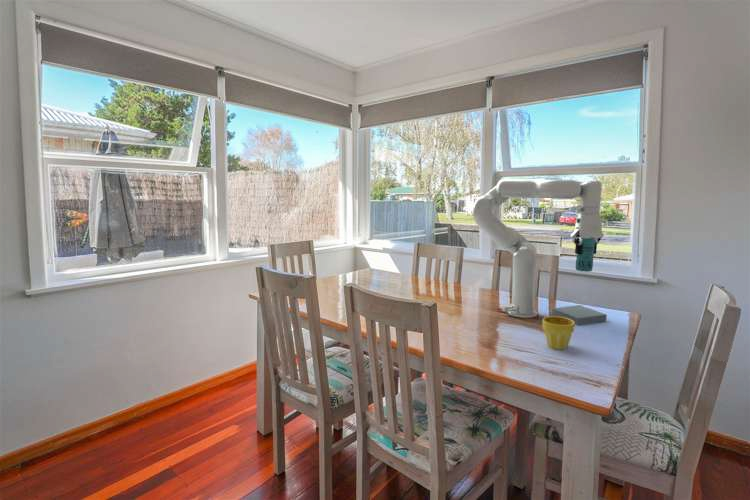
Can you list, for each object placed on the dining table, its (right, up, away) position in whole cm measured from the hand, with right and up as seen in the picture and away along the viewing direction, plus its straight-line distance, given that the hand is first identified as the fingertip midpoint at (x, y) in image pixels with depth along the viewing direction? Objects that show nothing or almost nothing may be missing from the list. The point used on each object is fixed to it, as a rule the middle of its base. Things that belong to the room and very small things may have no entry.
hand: (585, 253), depth 168 cm
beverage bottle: (0, -9, +1) cm, 9 cm away
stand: (+1, -28, +7) cm, 29 cm away
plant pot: (-23, -34, -23) cm, 47 cm away
